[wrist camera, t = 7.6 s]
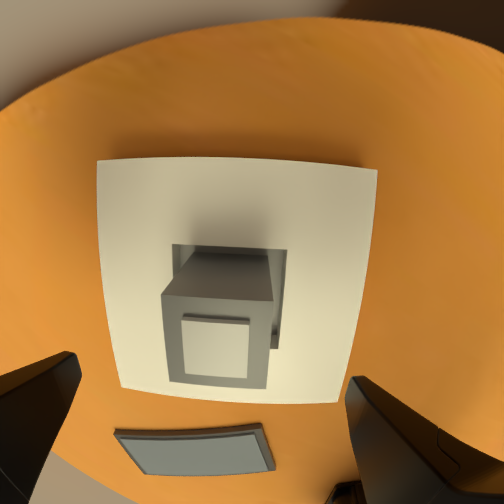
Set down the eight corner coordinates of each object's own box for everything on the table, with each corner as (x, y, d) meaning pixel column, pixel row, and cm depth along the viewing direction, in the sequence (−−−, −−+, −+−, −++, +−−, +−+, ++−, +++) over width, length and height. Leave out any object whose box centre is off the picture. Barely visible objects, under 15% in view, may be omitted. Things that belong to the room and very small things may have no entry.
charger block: (263, 322, 17) (266, 393, 11) (194, 318, 17) (167, 385, 11) (267, 255, 16) (274, 305, 10) (193, 251, 16) (158, 297, 10)
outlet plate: (331, 383, 19) (337, 402, 17) (131, 370, 19) (121, 387, 17) (363, 170, 15) (377, 170, 13) (113, 161, 15) (97, 160, 13)
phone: (275, 460, 22) (276, 471, 21) (147, 465, 23) (143, 475, 21) (260, 417, 20) (261, 430, 19) (117, 425, 21) (112, 435, 20)
